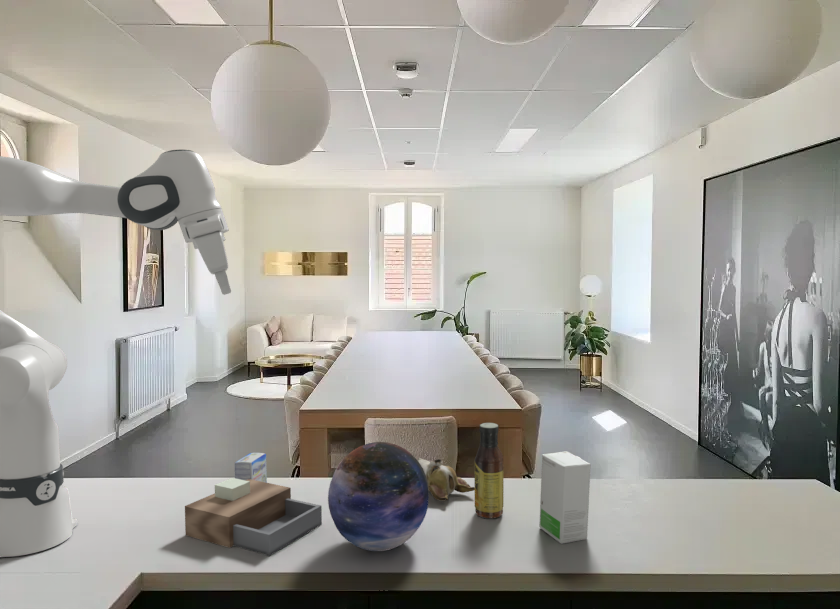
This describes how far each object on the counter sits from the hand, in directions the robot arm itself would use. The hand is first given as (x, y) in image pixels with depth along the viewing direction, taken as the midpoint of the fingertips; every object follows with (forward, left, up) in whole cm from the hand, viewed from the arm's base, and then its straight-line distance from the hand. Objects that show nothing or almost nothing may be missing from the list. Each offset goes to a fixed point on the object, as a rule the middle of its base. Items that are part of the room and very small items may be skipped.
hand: (227, 293), depth 128 cm
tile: (0, 0, -42) cm, 42 cm away
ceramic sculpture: (+31, +35, -49) cm, 68 cm away
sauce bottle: (+46, +29, -49) cm, 73 cm away
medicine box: (-9, +15, -49) cm, 52 cm away
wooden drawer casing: (+2, 0, -48) cm, 48 cm away
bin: (+13, 0, -48) cm, 50 cm away
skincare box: (+63, +27, -49) cm, 84 cm away
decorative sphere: (+33, +5, -49) cm, 59 cm away
